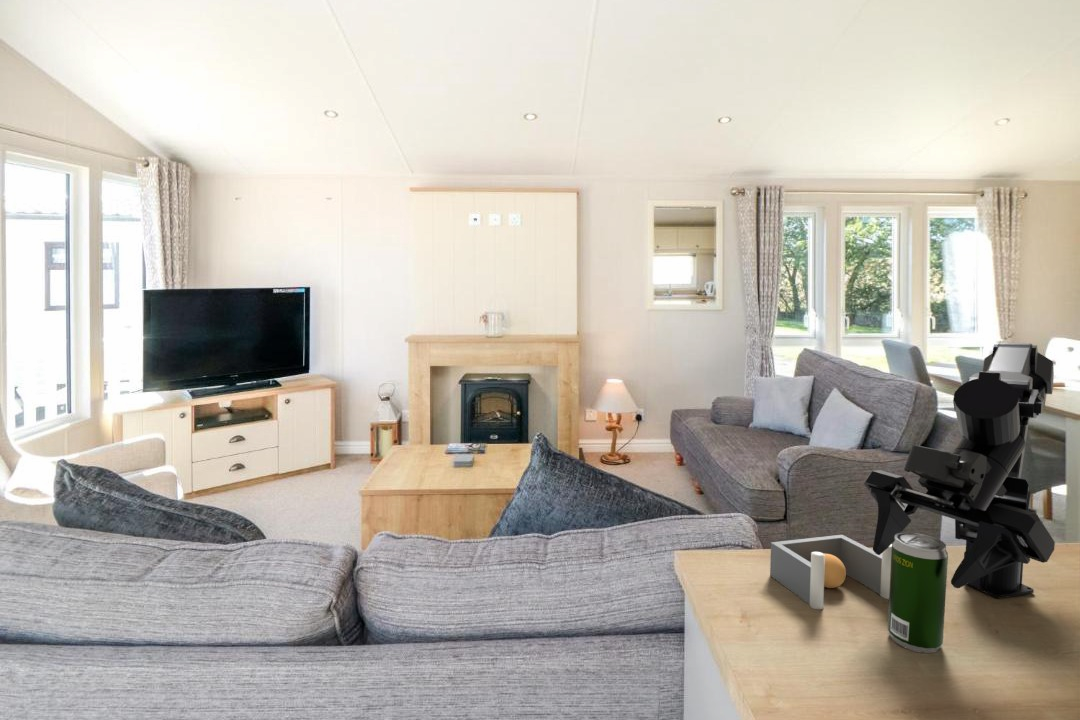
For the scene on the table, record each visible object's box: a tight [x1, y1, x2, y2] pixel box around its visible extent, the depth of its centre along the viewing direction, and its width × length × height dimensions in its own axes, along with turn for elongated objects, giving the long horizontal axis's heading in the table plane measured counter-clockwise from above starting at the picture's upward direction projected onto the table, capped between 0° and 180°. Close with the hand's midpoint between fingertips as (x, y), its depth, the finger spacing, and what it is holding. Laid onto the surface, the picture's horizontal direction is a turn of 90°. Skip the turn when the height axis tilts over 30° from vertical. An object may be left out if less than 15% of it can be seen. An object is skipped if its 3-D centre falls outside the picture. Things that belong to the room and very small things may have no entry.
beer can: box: [887, 532, 949, 654], centre depth 65 cm, size 5×5×12 cm
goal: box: [769, 534, 892, 610], centre depth 79 cm, size 13×10×7 cm
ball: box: [824, 554, 847, 589], centre depth 79 cm, size 4×4×4 cm
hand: (912, 568), depth 66 cm, fingers open, 9 cm apart
